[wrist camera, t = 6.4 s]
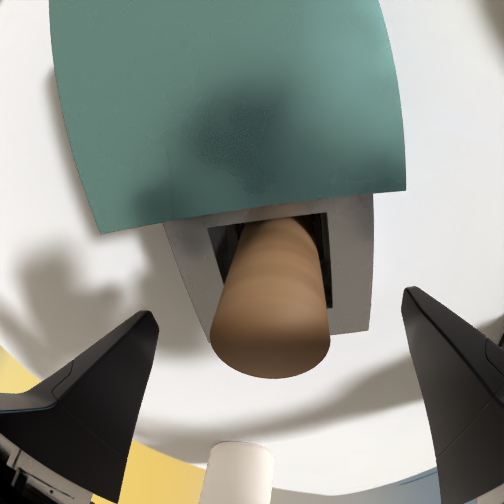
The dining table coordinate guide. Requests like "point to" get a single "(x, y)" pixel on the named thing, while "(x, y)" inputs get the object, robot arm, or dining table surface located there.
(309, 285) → the peg
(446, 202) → the dining table surface
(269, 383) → the dining table surface
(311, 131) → the station
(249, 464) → the alcohol
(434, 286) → the dining table surface
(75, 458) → the robot arm
